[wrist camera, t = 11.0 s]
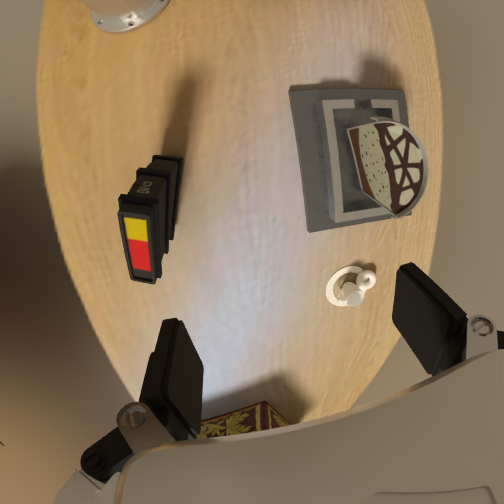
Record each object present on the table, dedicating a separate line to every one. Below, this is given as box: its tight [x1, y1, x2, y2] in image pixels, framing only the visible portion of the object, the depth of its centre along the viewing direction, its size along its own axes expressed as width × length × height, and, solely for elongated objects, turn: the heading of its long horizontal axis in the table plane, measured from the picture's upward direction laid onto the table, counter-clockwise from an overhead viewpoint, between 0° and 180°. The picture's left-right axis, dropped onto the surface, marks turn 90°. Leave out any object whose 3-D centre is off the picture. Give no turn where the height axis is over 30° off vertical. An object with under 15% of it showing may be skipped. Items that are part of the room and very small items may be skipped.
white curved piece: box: [326, 266, 376, 307], centre depth 43 cm, size 9×8×4 cm
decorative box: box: [197, 401, 291, 439], centre depth 56 cm, size 28×19×15 cm
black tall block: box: [118, 155, 183, 284], centre depth 32 cm, size 4×13×15 cm, turn 168°
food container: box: [347, 116, 429, 219], centre depth 30 cm, size 12×6×10 cm, turn 19°
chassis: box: [288, 89, 412, 233], centre depth 34 cm, size 20×18×4 cm
